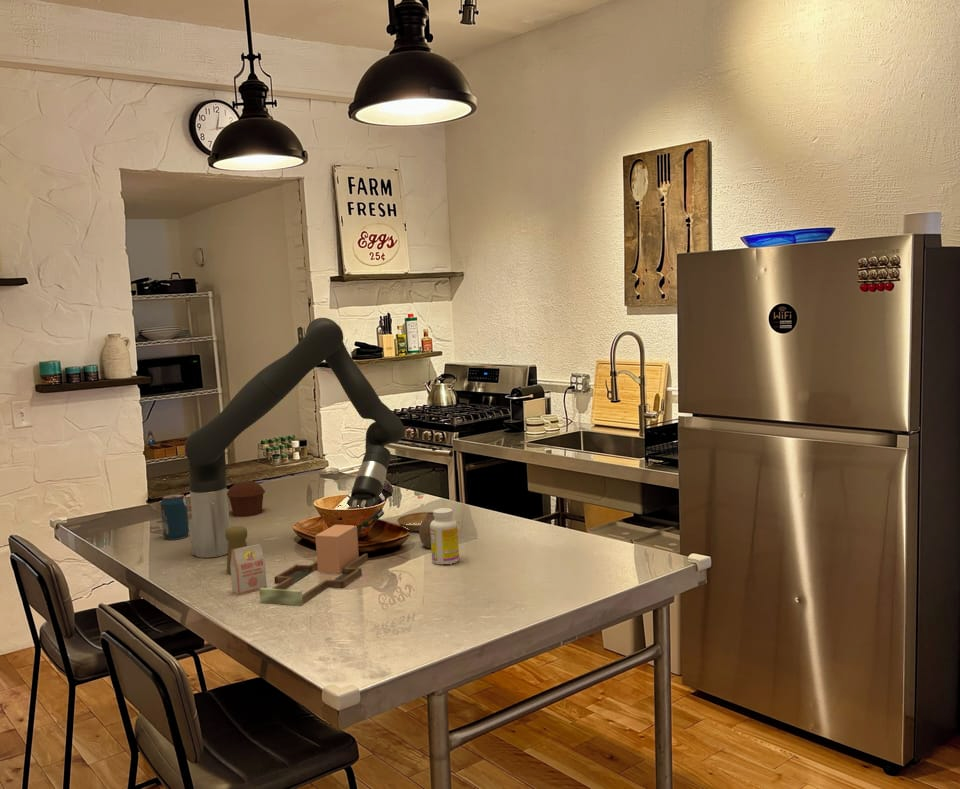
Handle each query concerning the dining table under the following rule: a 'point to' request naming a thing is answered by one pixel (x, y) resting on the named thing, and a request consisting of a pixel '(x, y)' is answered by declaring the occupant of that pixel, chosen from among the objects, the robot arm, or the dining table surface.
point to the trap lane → (296, 597)
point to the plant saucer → (412, 520)
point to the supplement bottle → (444, 537)
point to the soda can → (174, 516)
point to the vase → (426, 530)
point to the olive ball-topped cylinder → (235, 541)
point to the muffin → (246, 498)
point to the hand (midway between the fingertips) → (351, 540)
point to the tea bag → (248, 569)
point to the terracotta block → (336, 548)
